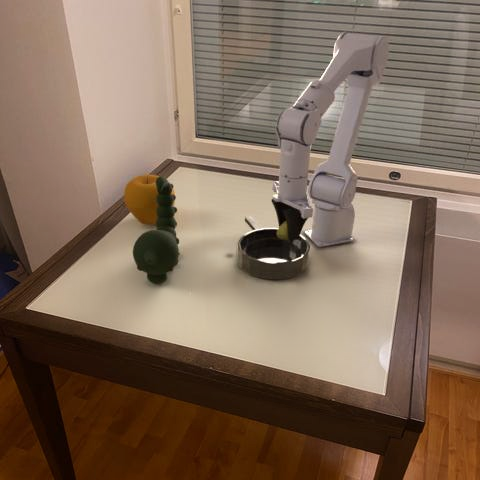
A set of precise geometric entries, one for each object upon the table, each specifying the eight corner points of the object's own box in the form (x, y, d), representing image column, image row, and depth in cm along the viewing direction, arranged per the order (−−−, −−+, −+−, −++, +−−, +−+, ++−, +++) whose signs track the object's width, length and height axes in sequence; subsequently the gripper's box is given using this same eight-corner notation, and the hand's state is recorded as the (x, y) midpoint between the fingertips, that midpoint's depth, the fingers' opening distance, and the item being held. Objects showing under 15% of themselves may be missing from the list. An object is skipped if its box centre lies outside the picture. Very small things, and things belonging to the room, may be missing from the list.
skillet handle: (251, 219, 124) (251, 216, 123) (263, 233, 118) (264, 230, 117) (244, 220, 123) (244, 217, 123) (256, 235, 117) (257, 231, 117)
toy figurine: (150, 246, 122) (129, 297, 101) (143, 169, 112) (117, 207, 91) (189, 247, 122) (175, 298, 101) (185, 170, 112) (169, 208, 91)
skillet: (289, 240, 122) (290, 223, 120) (320, 273, 111) (322, 255, 108) (227, 251, 118) (227, 234, 115) (253, 287, 106) (254, 269, 103)
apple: (133, 235, 123) (128, 192, 116) (121, 214, 133) (115, 172, 126) (183, 226, 128) (180, 183, 121) (168, 206, 137) (165, 165, 130)
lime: (274, 243, 107) (275, 222, 104) (281, 233, 110) (282, 212, 107) (294, 247, 106) (296, 225, 103) (300, 236, 109) (302, 215, 106)
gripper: (260, 163, 103) (258, 223, 111) (291, 190, 92) (286, 254, 100) (291, 159, 105) (286, 218, 113) (325, 184, 94) (317, 248, 103)
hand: (288, 234), depth 107 cm, fingers closed on lime, 3 cm apart
